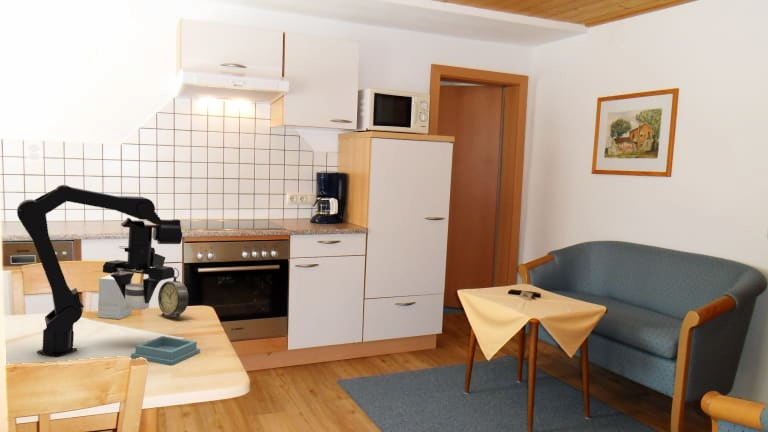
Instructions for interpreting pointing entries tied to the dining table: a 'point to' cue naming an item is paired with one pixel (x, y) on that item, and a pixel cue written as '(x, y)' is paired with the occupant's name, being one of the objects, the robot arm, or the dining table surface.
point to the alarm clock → (173, 297)
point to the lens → (135, 297)
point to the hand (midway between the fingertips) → (137, 301)
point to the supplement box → (111, 299)
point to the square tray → (166, 350)
